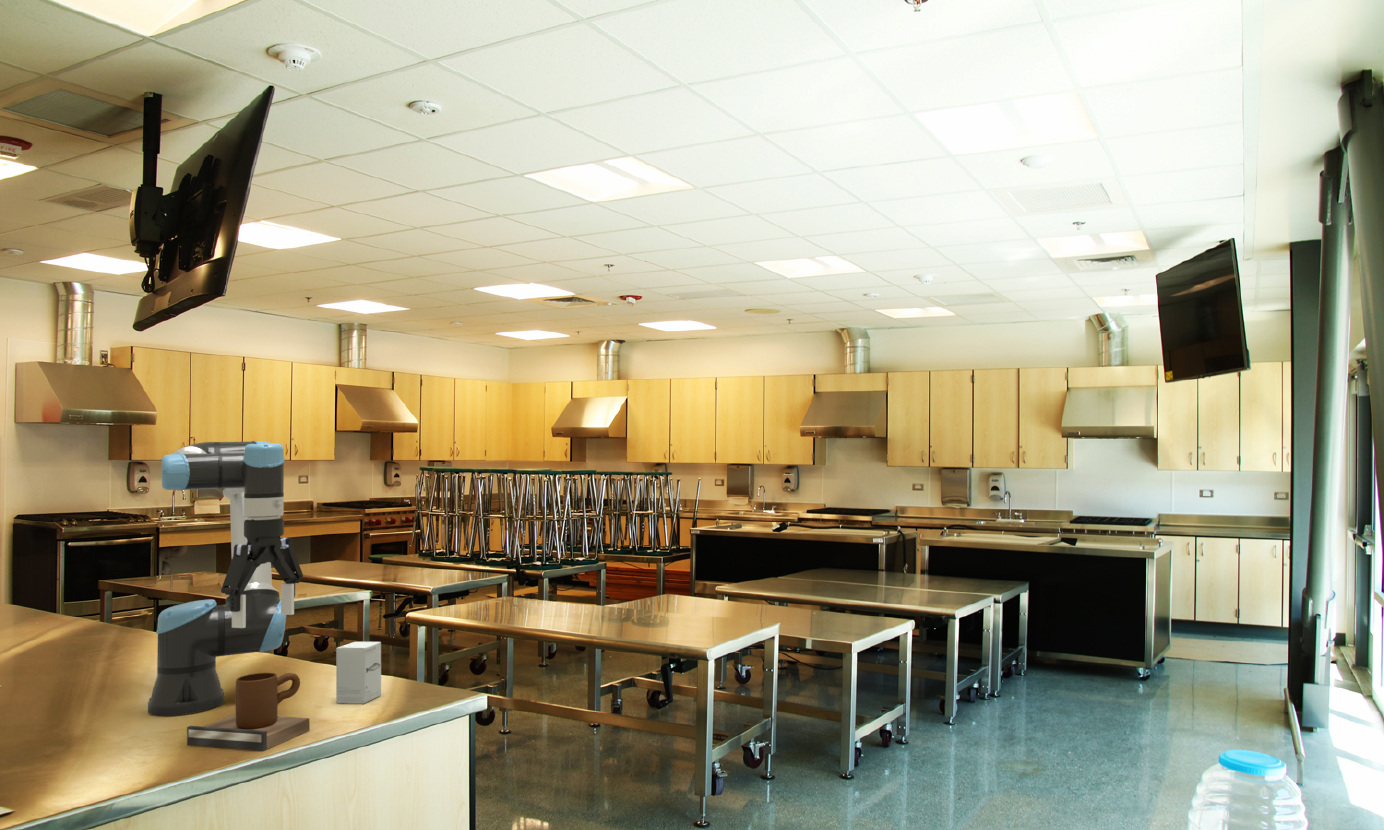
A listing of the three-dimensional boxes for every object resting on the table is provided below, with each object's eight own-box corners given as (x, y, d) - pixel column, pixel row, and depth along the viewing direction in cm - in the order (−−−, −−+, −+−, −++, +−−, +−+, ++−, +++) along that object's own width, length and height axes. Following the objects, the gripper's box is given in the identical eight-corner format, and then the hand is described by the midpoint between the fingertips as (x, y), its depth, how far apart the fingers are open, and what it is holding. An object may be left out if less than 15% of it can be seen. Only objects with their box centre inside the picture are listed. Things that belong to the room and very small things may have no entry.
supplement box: (364, 704, 202) (364, 647, 202) (335, 703, 203) (334, 647, 204) (382, 695, 209) (382, 641, 209) (353, 694, 210) (353, 640, 211)
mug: (295, 712, 187) (295, 666, 188) (304, 720, 181) (304, 673, 182) (232, 723, 180) (232, 676, 181) (239, 732, 174) (239, 683, 174)
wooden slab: (186, 745, 175) (186, 726, 175) (236, 725, 187) (236, 708, 188) (263, 750, 170) (263, 732, 170) (309, 730, 183) (309, 713, 183)
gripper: (232, 523, 172) (231, 634, 172) (320, 512, 196) (320, 610, 196) (200, 523, 175) (200, 632, 174) (291, 512, 198) (291, 608, 198)
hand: (264, 620), depth 185 cm, fingers open, 13 cm apart
